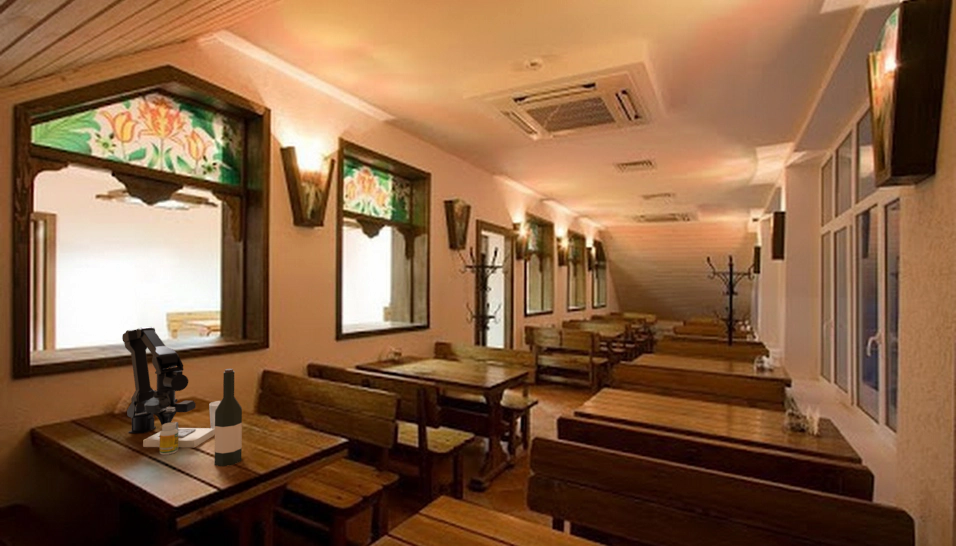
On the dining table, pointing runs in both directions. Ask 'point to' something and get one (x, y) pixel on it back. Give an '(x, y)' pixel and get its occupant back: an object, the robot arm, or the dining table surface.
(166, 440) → the supplement bottle
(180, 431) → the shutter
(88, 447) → the dining table surface
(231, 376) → the wine bottle
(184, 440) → the socket board
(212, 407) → the white cup
